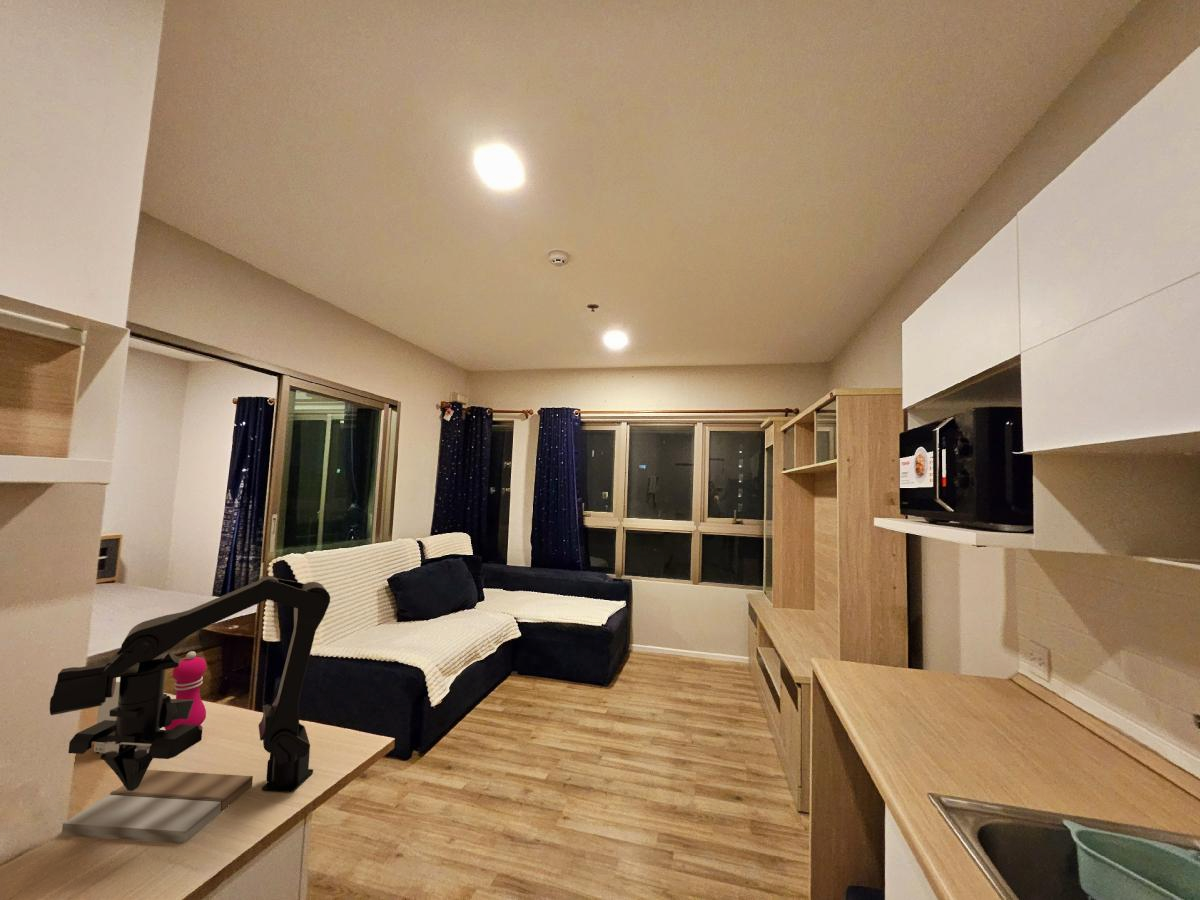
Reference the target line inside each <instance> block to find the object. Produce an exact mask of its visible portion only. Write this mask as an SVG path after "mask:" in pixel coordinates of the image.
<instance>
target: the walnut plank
mask: <svg viewBox="0 0 1200 900" xmlns="http://www.w3.org/2000/svg"><path fill="white" fill-rule="evenodd" d="M253 778H254V777H253V775H239V774H226V773H225V774H222V773H207V772H191V771H190V772H189V771H173V770H172V771H171V770H157V769H147V771H146V773H145V775H144V777H143V779H142V781H141V783H140V785H139V787H138V788H136V789H135V790H133V791H128V790H127V789H126V787H125V786H124V785H121V786H120V787H118V788H116V789H114V790H112V791H111V792H110V793H109V795H120V796H136V797H152V798H168V799H184V800H200V801H216V802H221V811H222V812H224V811H225V810H226V809H227V808H228V807H229V806H231V805H232V804H233V803H234V802H235V801H237V800H238V799H239V798H240V797H241V796H243V795H244V794H245V793H246V792H247V791H249V789H251V788H252V787H253ZM231 803H232V804H231ZM230 804H231V805H230ZM228 805H229V806H228ZM226 807H227V808H226ZM225 808H226V809H225ZM224 809H225V810H224ZM223 810H224V811H223Z"/></svg>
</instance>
